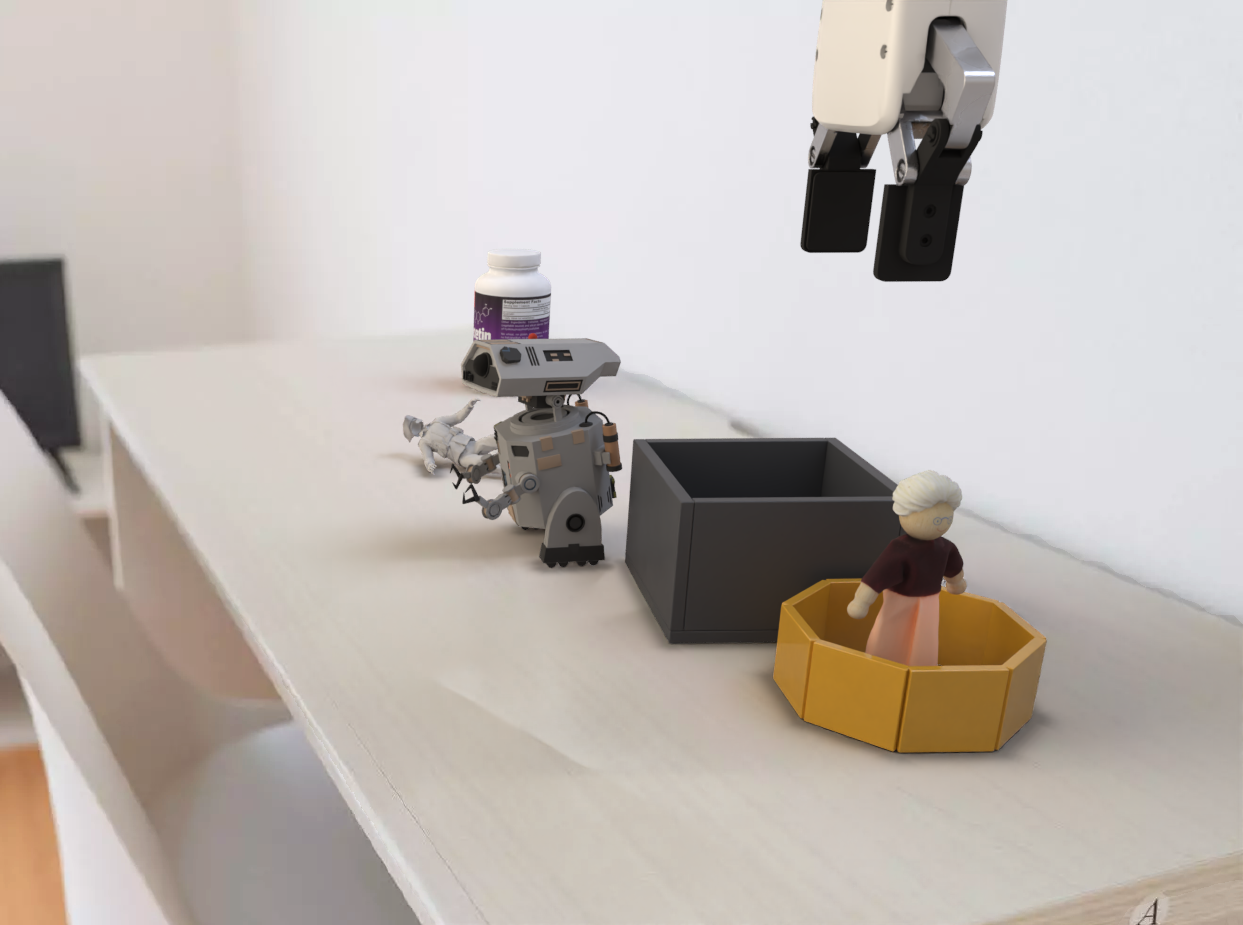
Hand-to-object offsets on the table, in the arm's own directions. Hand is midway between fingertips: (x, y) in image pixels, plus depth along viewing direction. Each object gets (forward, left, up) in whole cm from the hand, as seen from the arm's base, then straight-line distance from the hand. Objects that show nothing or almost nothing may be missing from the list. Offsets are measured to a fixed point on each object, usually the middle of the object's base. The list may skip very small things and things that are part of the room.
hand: (868, 265), depth 60 cm
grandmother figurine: (-5, -1, -23) cm, 24 cm away
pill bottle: (+8, -75, -23) cm, 79 cm away
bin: (-1, -15, -23) cm, 27 cm away
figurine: (+12, -25, -23) cm, 36 cm away
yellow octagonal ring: (-5, -1, -23) cm, 24 cm away
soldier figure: (+15, -45, -23) cm, 53 cm away
